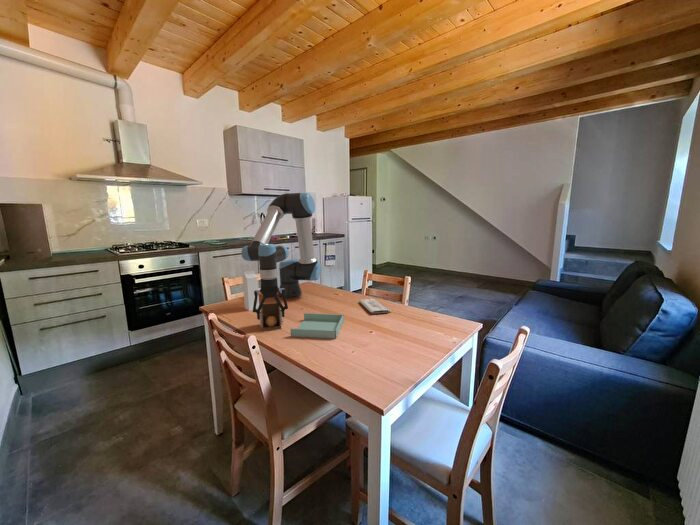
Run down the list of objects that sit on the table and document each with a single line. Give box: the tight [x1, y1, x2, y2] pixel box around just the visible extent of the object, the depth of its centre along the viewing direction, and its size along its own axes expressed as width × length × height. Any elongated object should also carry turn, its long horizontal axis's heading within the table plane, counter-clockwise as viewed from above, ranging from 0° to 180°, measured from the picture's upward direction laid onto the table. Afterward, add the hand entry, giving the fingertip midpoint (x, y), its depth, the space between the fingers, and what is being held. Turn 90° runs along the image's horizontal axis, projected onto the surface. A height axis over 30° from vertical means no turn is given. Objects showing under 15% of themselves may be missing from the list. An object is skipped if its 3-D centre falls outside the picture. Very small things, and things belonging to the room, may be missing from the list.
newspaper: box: [358, 298, 392, 315], centre depth 160 cm, size 23×12×2 cm, turn 16°
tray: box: [289, 312, 345, 340], centre depth 131 cm, size 20×20×4 cm
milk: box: [242, 269, 260, 312], centre depth 157 cm, size 6×6×22 cm
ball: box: [265, 316, 277, 327], centre depth 134 cm, size 5×5×5 cm
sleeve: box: [260, 302, 282, 332], centre depth 134 cm, size 8×8×10 cm
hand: (271, 324), depth 135 cm, fingers closed on sleeve, 8 cm apart
